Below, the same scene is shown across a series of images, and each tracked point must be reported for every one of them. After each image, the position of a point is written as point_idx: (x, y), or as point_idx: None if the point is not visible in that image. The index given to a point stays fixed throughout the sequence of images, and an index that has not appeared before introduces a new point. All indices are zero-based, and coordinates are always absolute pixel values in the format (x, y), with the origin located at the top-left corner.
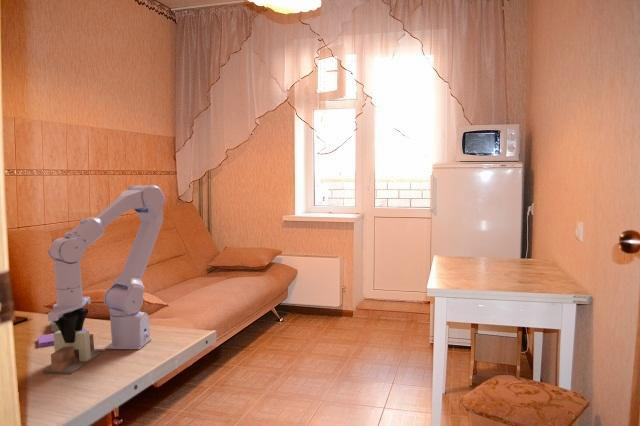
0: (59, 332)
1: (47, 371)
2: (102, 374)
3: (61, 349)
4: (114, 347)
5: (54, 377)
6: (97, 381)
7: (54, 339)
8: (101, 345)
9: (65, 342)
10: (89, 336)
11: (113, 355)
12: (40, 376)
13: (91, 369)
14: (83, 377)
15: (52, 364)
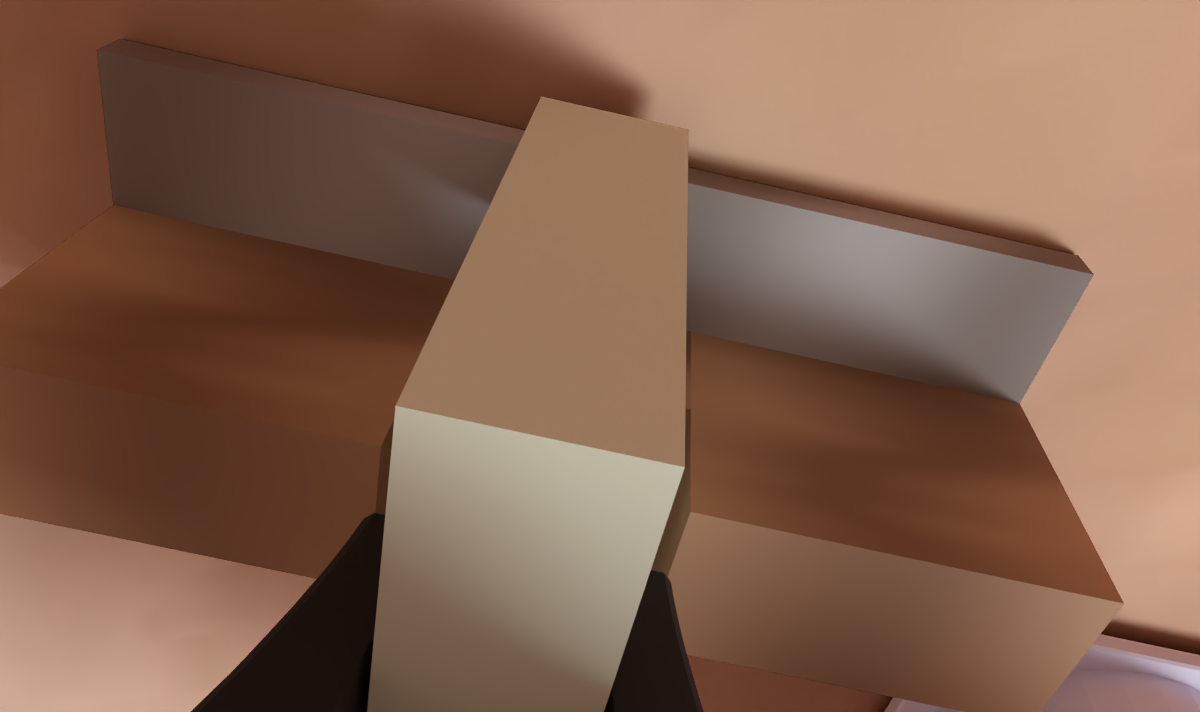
0: (477, 542)
1: (112, 127)
2: (175, 682)
3: (206, 449)
4: (910, 706)
5: (24, 264)
6: (19, 673)
7: (442, 311)
8: (1194, 523)
9: (359, 531)
10: (906, 698)
11: (699, 692)
12: (17, 43)
13: (296, 580)
14: (82, 557)
15: (51, 267)
